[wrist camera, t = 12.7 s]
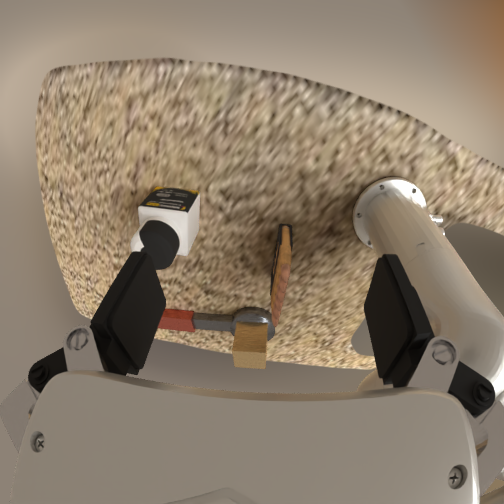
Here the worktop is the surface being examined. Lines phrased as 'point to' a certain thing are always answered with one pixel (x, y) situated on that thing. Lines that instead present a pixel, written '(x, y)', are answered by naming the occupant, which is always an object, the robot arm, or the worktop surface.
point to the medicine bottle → (167, 224)
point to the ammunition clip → (280, 270)
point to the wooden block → (250, 344)
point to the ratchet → (214, 320)
